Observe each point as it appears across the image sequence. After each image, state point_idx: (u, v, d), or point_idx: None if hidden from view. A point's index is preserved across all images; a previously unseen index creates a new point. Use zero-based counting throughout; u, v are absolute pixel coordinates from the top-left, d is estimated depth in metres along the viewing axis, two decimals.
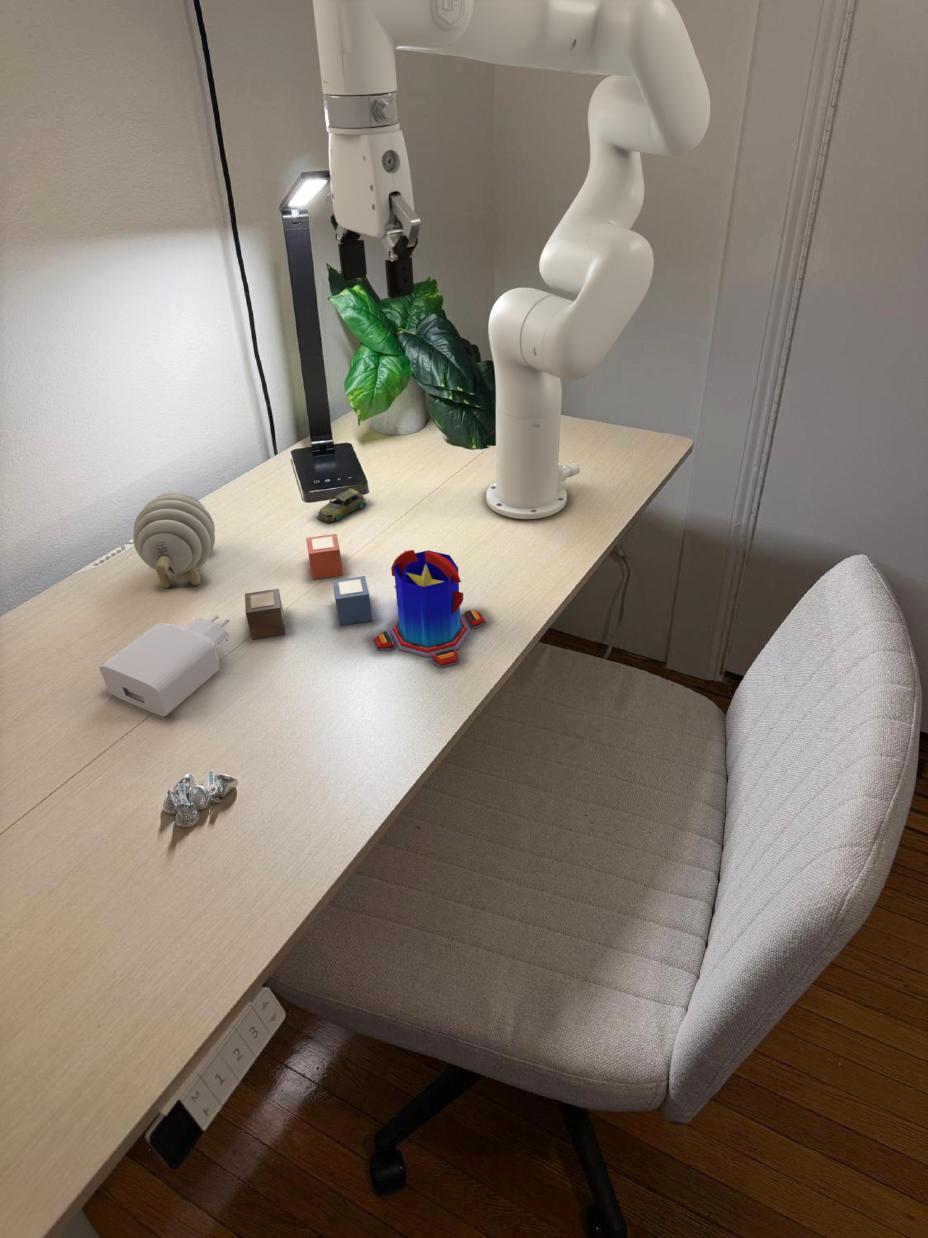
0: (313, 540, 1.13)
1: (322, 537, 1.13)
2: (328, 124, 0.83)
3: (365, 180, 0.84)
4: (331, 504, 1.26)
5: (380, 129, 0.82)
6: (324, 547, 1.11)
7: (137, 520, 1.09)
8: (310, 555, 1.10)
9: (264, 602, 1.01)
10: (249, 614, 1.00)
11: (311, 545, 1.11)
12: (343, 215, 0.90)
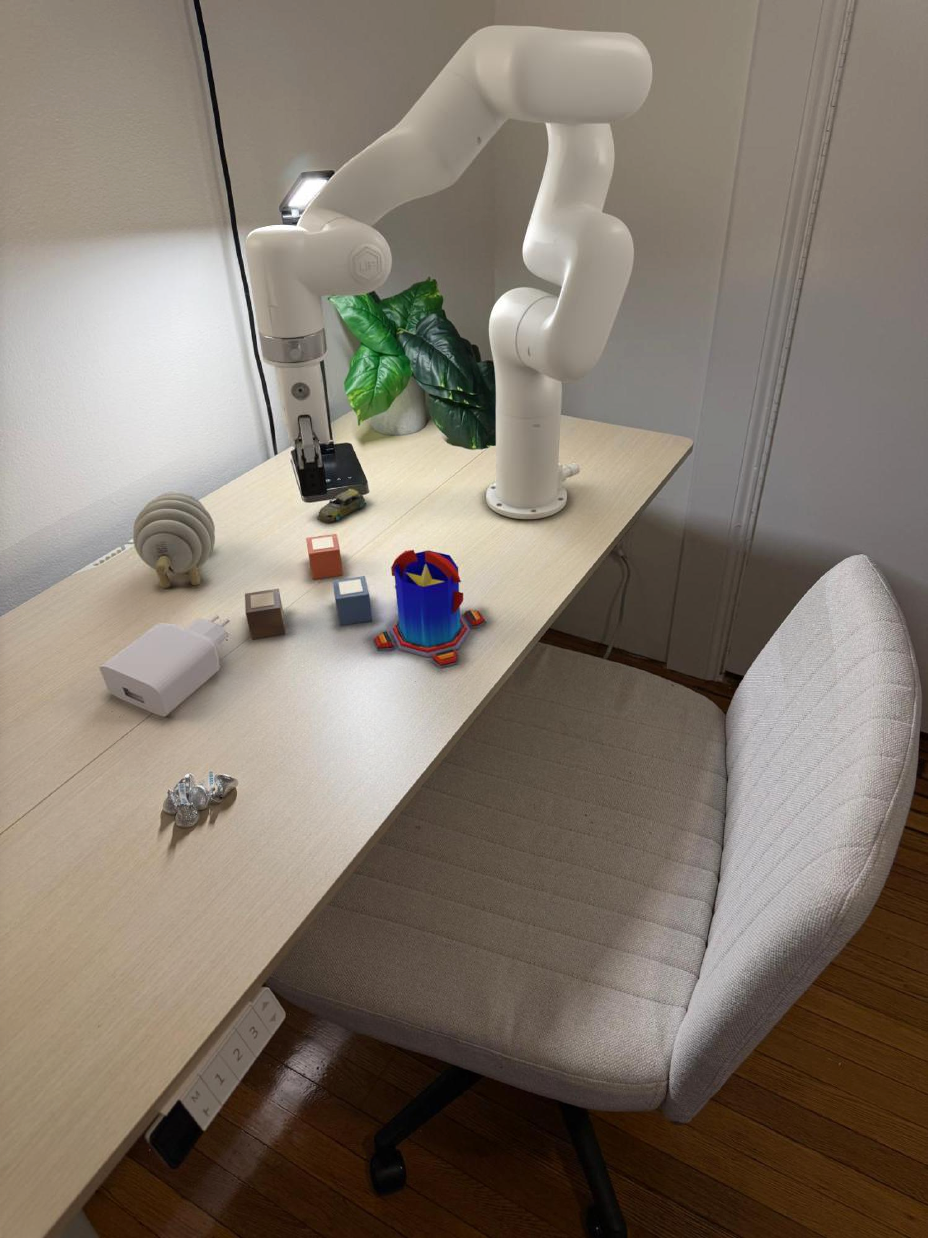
0: (313, 540, 1.13)
1: (322, 537, 1.13)
2: None
3: (282, 402, 0.96)
4: (331, 504, 1.26)
5: (294, 364, 0.93)
6: (324, 547, 1.11)
7: (137, 520, 1.09)
8: (310, 555, 1.10)
9: (264, 602, 1.01)
10: (249, 614, 1.00)
11: (311, 545, 1.11)
12: None
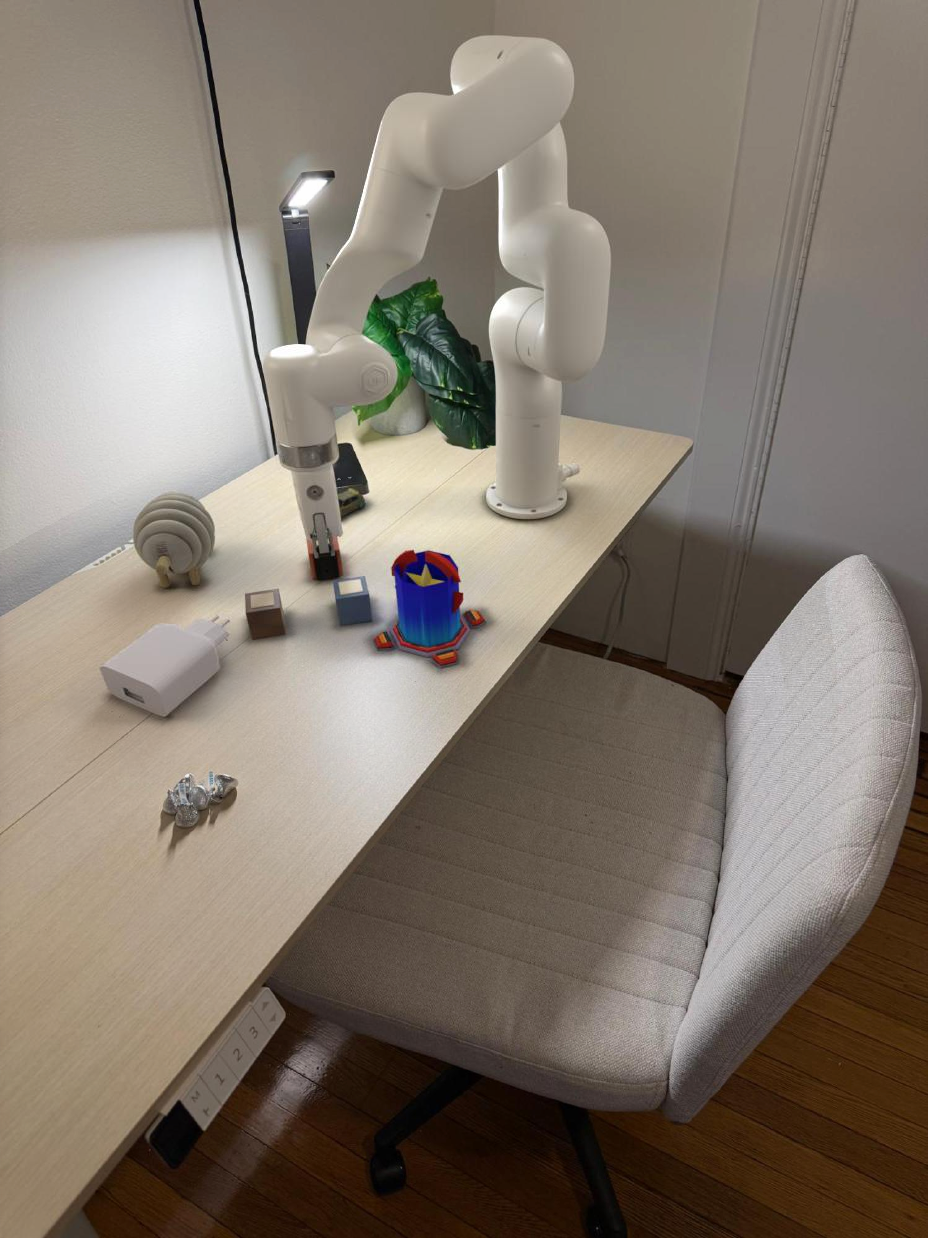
0: None
1: None
2: None
3: (298, 501, 1.04)
4: None
5: (308, 469, 1.01)
6: None
7: (137, 520, 1.09)
8: (310, 555, 1.10)
9: (264, 602, 1.01)
10: (249, 614, 1.00)
11: (311, 545, 1.11)
12: None
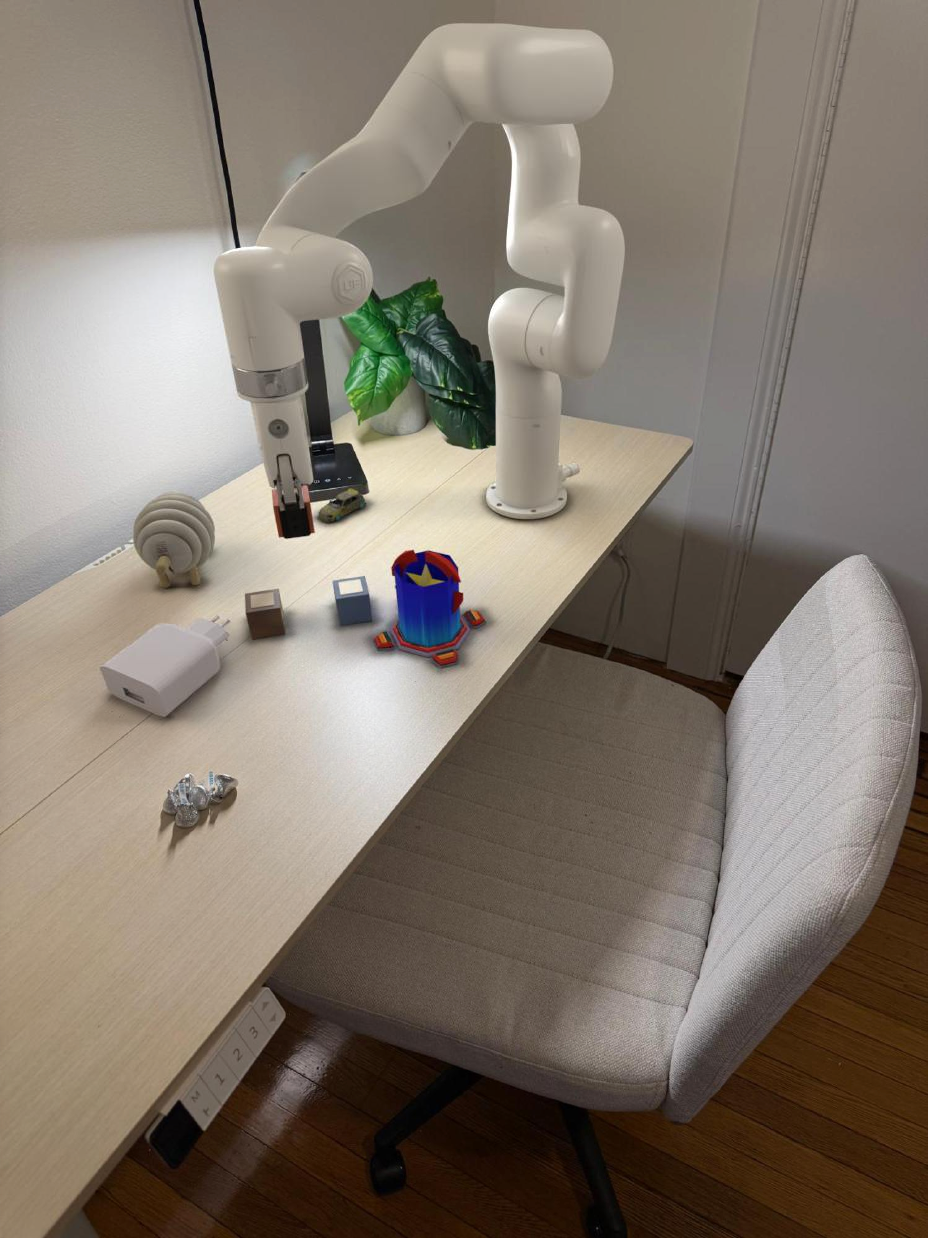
0: None
1: None
2: None
3: (258, 440, 0.87)
4: (331, 504, 1.26)
5: (270, 399, 0.84)
6: None
7: (137, 520, 1.09)
8: (275, 508, 0.93)
9: (264, 602, 1.01)
10: (249, 614, 1.00)
11: (277, 497, 0.95)
12: None
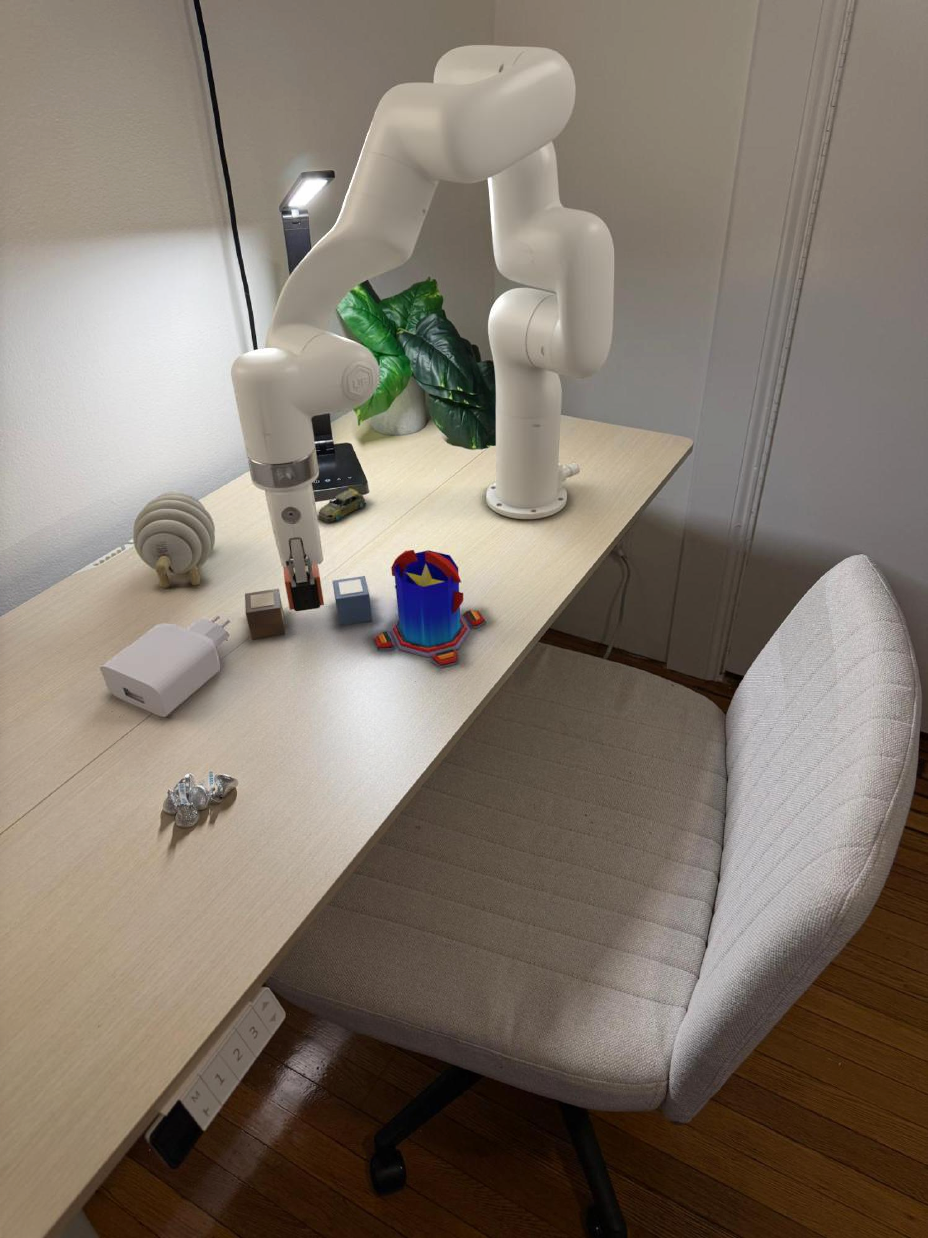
0: None
1: None
2: None
3: (272, 524, 0.92)
4: (331, 504, 1.26)
5: (284, 489, 0.89)
6: None
7: (137, 520, 1.09)
8: (287, 583, 0.98)
9: (264, 602, 1.01)
10: (249, 614, 1.00)
11: (288, 572, 1.00)
12: None
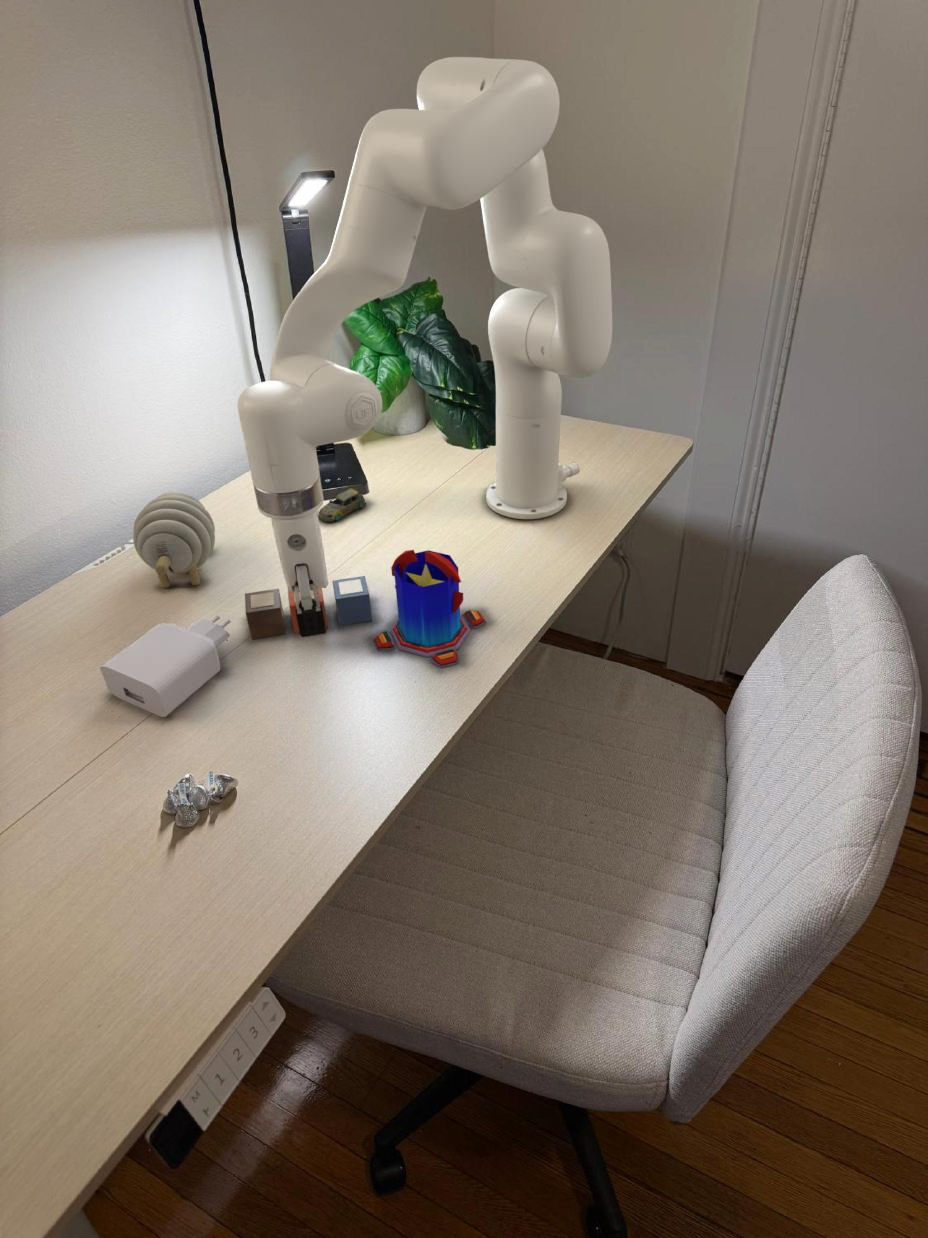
0: None
1: None
2: None
3: (278, 550, 0.94)
4: (331, 504, 1.26)
5: (289, 517, 0.92)
6: None
7: (137, 520, 1.09)
8: (291, 608, 1.01)
9: (264, 602, 1.01)
10: (249, 614, 1.00)
11: (293, 597, 1.02)
12: None
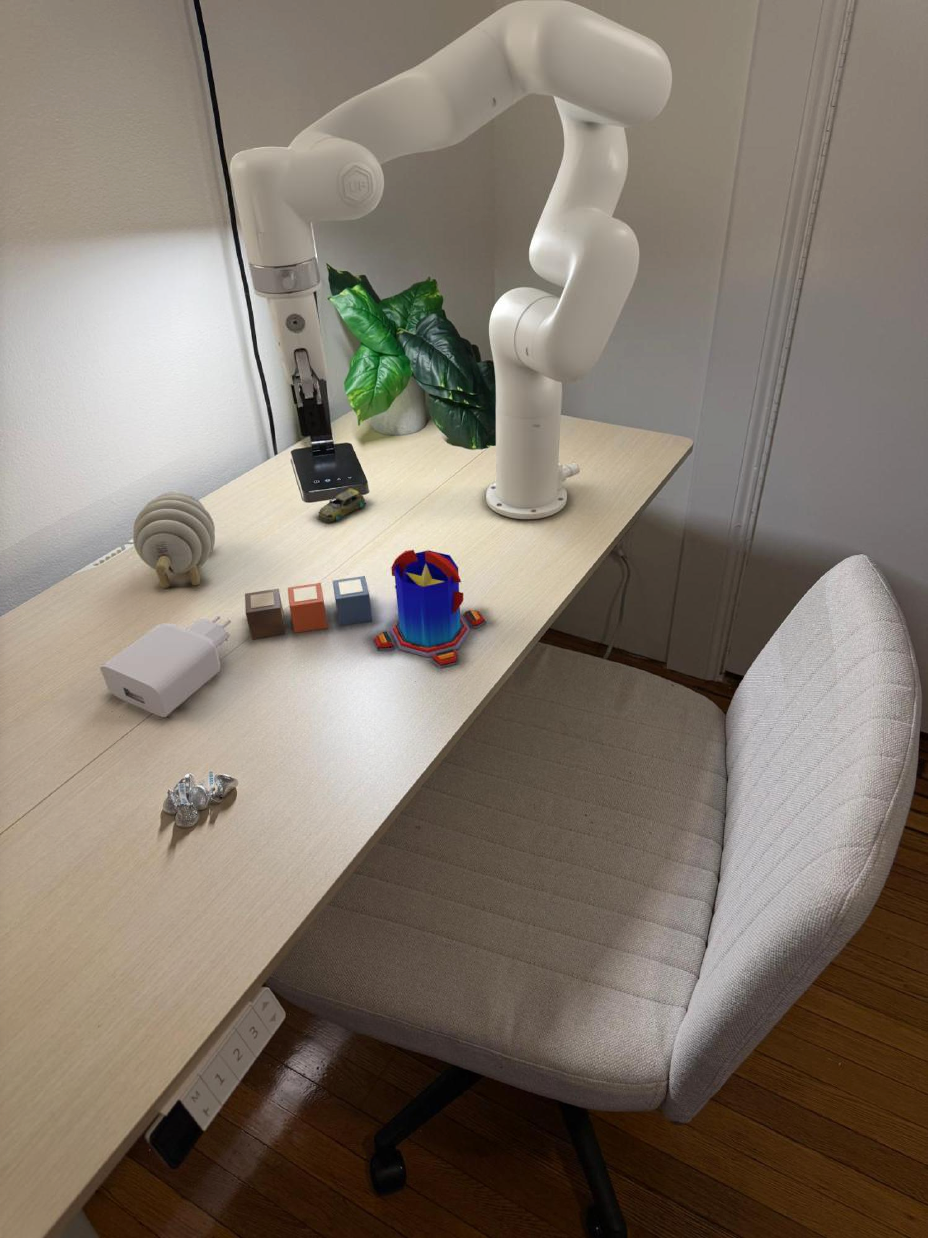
0: (295, 590, 1.03)
1: (305, 587, 1.04)
2: None
3: (276, 336, 0.92)
4: (331, 504, 1.26)
5: (287, 295, 0.89)
6: (307, 598, 1.02)
7: (137, 520, 1.09)
8: (291, 608, 1.01)
9: (264, 602, 1.01)
10: (249, 614, 1.00)
11: (293, 597, 1.02)
12: None
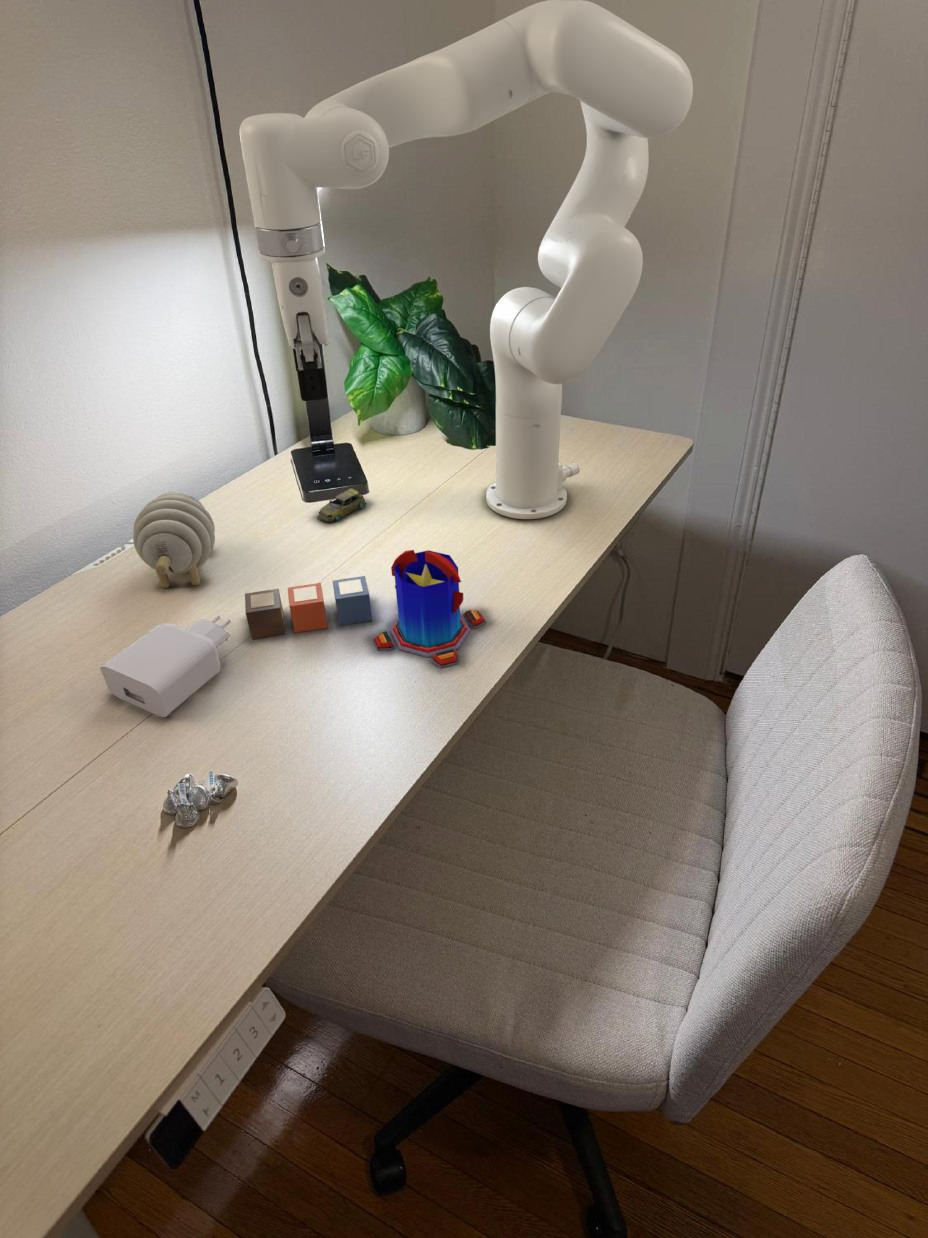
0: (295, 590, 1.03)
1: (305, 587, 1.04)
2: None
3: (280, 300, 0.94)
4: (331, 504, 1.26)
5: (291, 258, 0.92)
6: (307, 598, 1.02)
7: (137, 520, 1.09)
8: (291, 608, 1.01)
9: (264, 602, 1.01)
10: (249, 614, 1.00)
11: (293, 597, 1.02)
12: None
